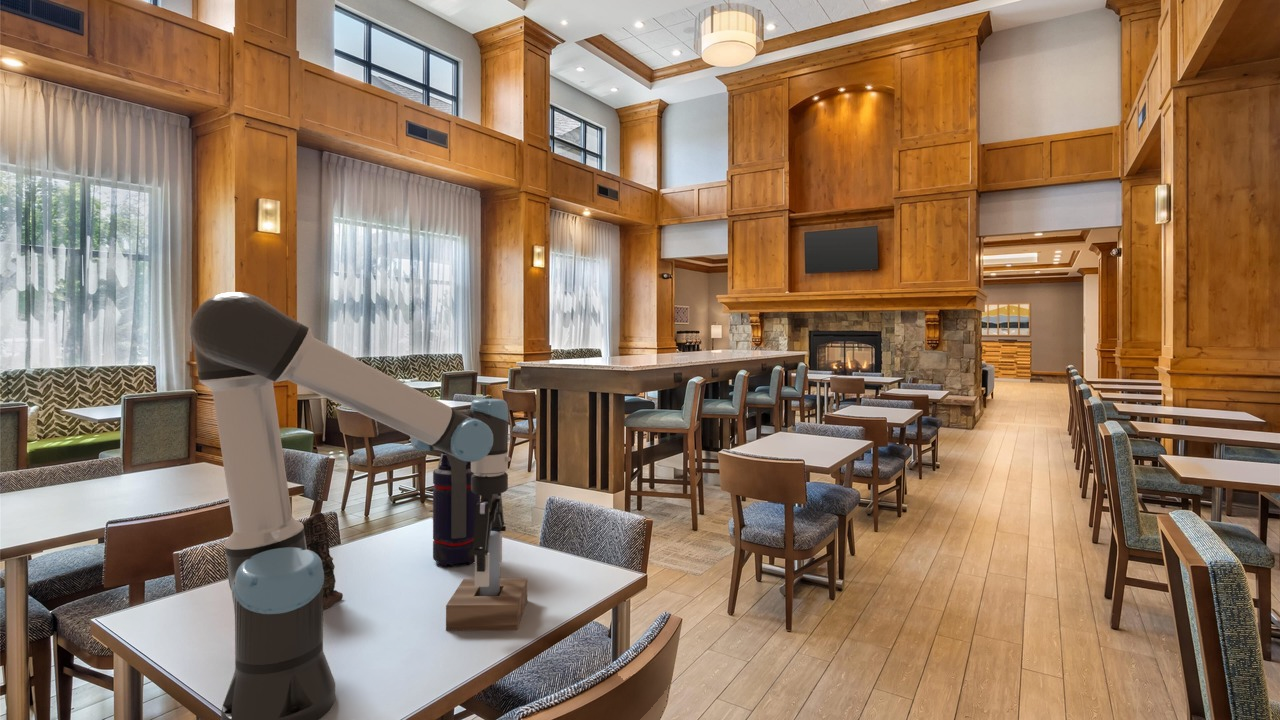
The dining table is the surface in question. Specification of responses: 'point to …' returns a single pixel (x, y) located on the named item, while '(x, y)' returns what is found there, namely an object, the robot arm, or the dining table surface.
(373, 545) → the dining table surface
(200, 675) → the dining table surface
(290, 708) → the robot arm
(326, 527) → the statue
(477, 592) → the socket block
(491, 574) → the pin
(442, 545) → the grenade
